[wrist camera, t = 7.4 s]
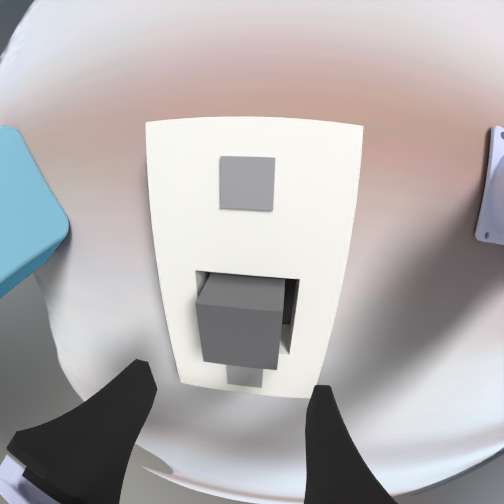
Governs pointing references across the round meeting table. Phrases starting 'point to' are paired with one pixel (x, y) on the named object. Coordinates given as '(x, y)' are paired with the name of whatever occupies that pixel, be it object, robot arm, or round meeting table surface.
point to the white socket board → (253, 231)
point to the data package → (25, 213)
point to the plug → (241, 320)
